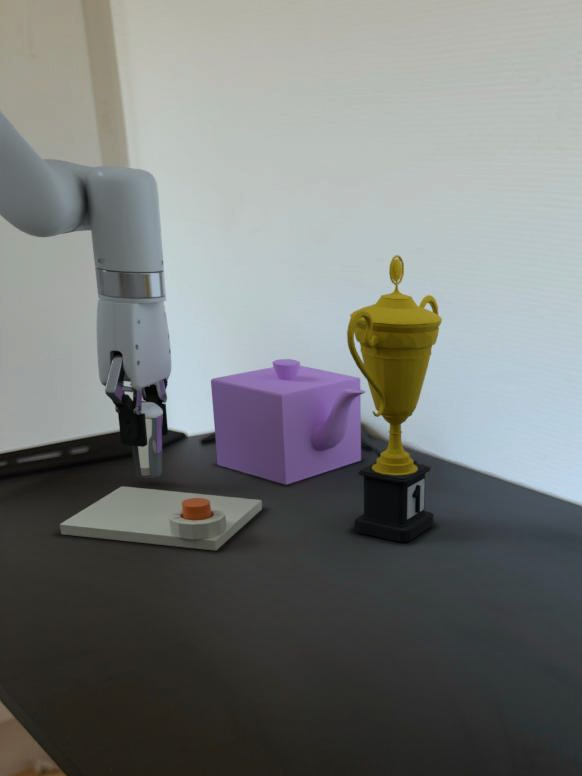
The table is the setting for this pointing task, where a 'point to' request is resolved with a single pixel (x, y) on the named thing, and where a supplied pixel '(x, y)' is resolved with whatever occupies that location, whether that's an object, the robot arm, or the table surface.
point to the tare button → (196, 509)
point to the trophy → (394, 405)
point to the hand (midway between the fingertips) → (145, 437)
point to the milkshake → (150, 444)
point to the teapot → (287, 421)
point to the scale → (161, 518)
